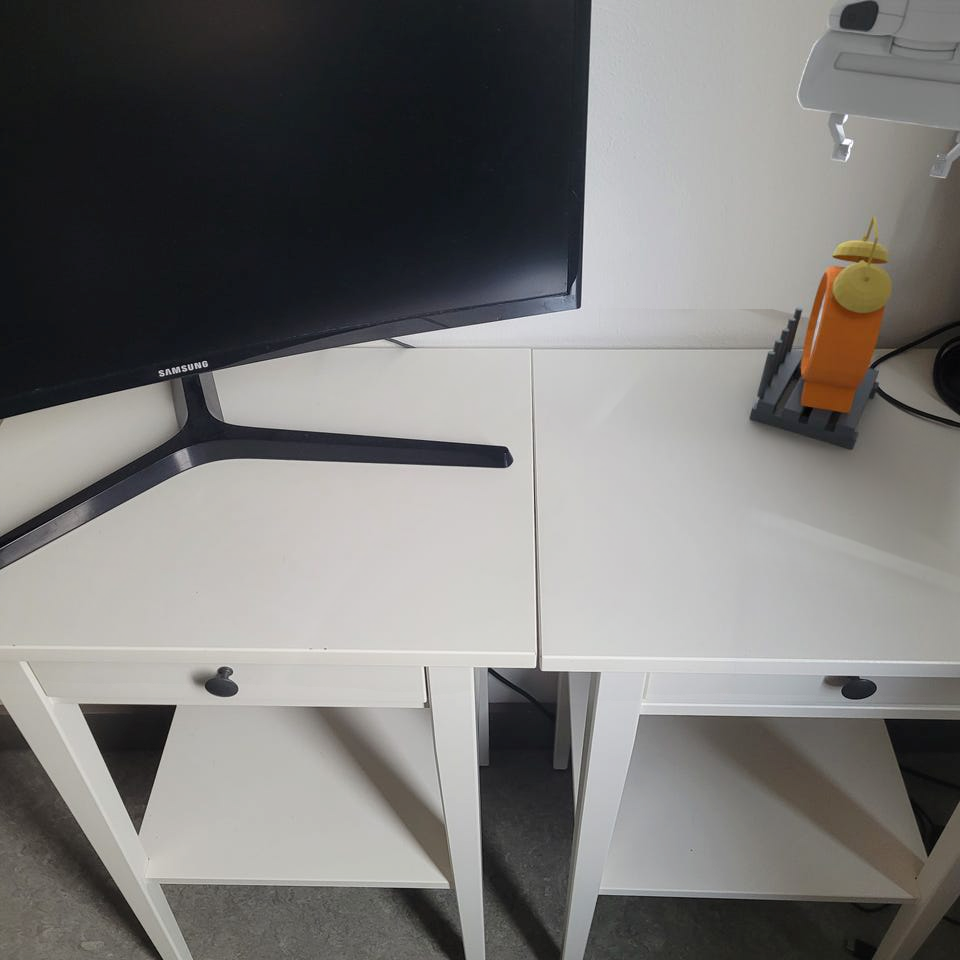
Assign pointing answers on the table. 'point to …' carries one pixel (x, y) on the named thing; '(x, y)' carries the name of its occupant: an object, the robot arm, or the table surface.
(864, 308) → the alarm clock
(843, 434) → the rack
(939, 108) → the robot arm
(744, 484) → the table surface
